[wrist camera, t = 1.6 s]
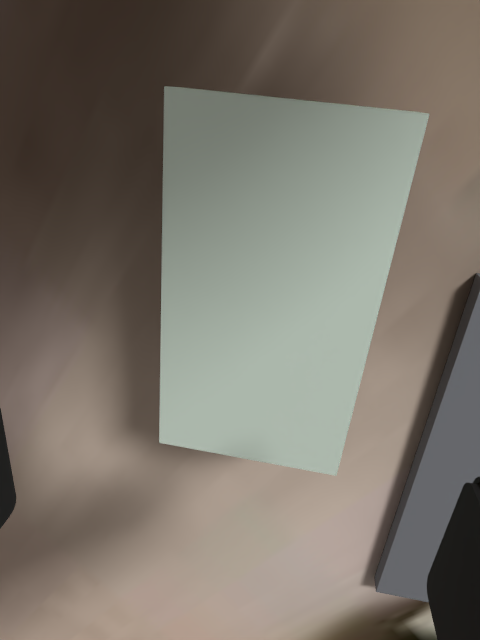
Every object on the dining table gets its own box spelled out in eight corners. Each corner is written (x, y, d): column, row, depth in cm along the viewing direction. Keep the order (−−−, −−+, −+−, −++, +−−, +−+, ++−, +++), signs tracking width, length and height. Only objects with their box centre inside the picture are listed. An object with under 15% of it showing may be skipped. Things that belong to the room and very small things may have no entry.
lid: (188, 87, 15) (164, 86, 13) (411, 110, 14) (429, 114, 12) (177, 404, 21) (159, 443, 19) (334, 432, 20) (336, 475, 18)
